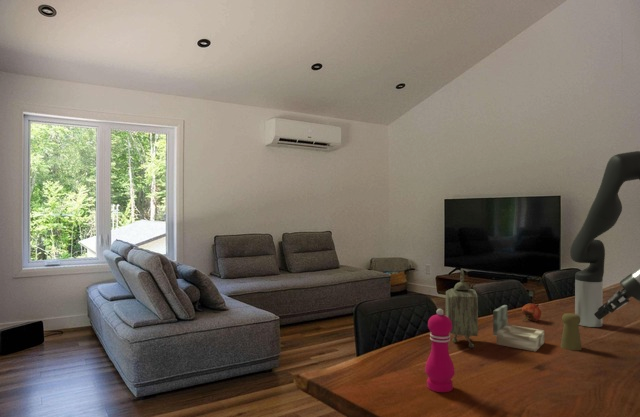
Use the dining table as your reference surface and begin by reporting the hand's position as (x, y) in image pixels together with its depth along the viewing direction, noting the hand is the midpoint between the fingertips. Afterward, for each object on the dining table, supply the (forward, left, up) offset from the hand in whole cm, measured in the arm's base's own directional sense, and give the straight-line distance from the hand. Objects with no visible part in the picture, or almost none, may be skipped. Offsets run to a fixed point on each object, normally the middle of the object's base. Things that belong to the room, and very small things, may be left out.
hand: (598, 314), depth 142 cm
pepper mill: (+58, -28, -12) cm, 65 cm away
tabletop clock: (+18, -38, -12) cm, 43 cm away
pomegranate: (-29, -27, -12) cm, 41 cm away
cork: (0, -8, -12) cm, 14 cm away
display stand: (+6, -22, -12) cm, 25 cm away
